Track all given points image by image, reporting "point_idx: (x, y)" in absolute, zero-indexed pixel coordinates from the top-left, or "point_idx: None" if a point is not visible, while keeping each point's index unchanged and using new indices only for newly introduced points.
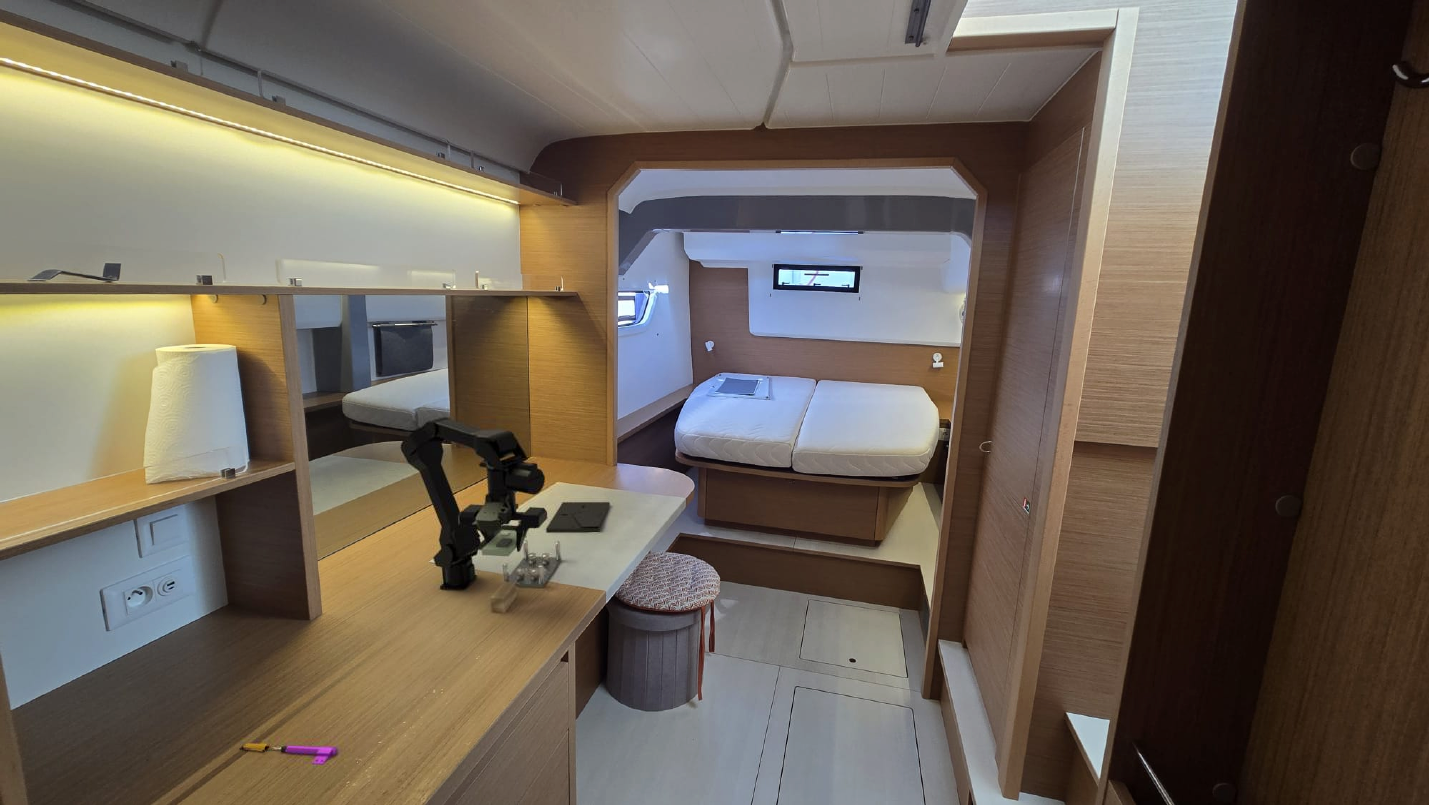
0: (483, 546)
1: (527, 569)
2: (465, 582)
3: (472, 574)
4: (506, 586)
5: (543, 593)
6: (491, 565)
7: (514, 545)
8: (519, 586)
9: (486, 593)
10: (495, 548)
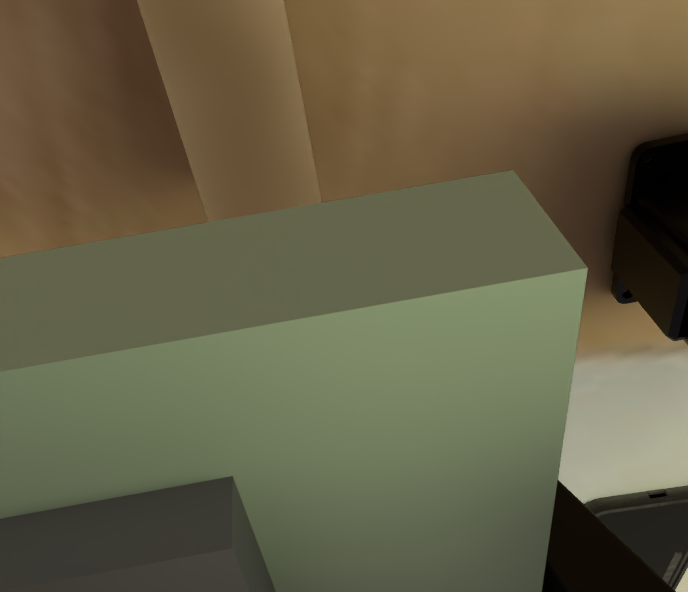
0: (684, 506)
1: None
2: (660, 199)
3: (641, 267)
4: (253, 172)
5: None
6: (575, 405)
7: None
8: None
9: (460, 155)
10: (178, 420)
